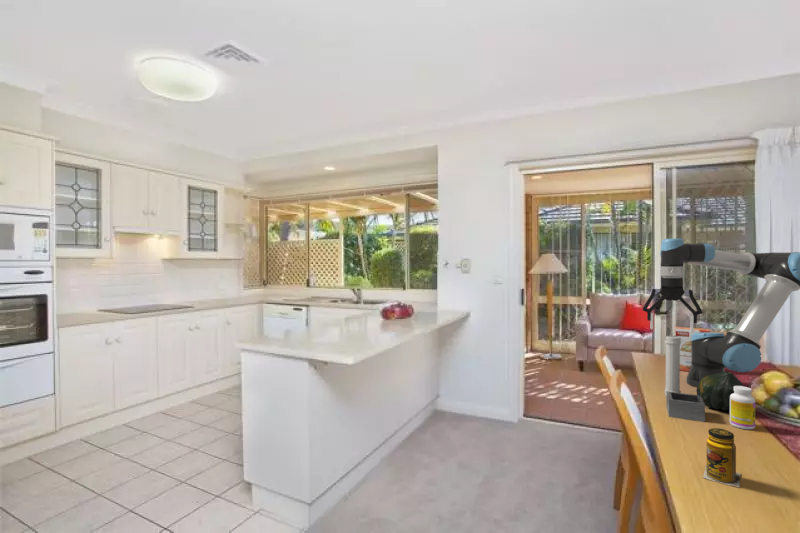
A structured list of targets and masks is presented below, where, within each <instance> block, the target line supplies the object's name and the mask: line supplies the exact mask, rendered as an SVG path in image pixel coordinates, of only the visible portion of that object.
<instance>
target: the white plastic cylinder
mask: <svg viewBox="0 0 800 533" xmlns="http://www.w3.org/2000/svg"><path fill="white" fill-rule="evenodd" d="M663 324H665V325H666V326H668V324H667V323H666V322H663ZM668 327H669V329H670V331H671V334H672V335H665V337H664V343H665V388H664V396H665V397H667V391H668V392H676V393H682V391H681V390H680V388H681V387H680V385H681V384H680V381H681V380H680V379H681V376H680V375H681V374H680V373H681V372H680V371H681V370H680V344H681V338H680V337H678V336H675V335H674V333H673V329H672V328H671V327H670V326H668Z"/></svg>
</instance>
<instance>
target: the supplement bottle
mask: <svg viewBox="0 0 800 533" xmlns="http://www.w3.org/2000/svg"><path fill="white" fill-rule="evenodd" d="M744 386H745V385H744ZM744 386H734V389H733V390H734V393H733V394H731V395H730V412H729V424H730V425H731V426H733V427H734V428H738V429H742V430H749V431H750V430H754V429H755V428H756V399H755V397H754V396H753V395H752V393H753V391H752V388H750V387H747V386H745V387H744Z"/></svg>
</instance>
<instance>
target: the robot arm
mask: <svg viewBox="0 0 800 533" xmlns="http://www.w3.org/2000/svg"><path fill="white" fill-rule="evenodd" d="M659 255H660V276H661V278H660V289H658V288H657V289H655V288H651V294H650V295H649V297H648V298H647V300H646V302H645V303H644V305H643V307H642V311H643V312H644V313H645V312H646V314H647V317H646V318H647V321H649V322H650V326H649V327H650V330H653V329H654V313H653V311H654V310H655V309H656V308H657V307H658V306H659V305H660V304H661V303H662V302H663V301H665V300H666V301H675V302H677V301H680V302H681V303H682V304H683V305H684V306H685V307H686V308H687V310H688V311H689V312H691V313H692V314H690V316H689V317H690V318H689V319H690V320H689V322H690V323H689V324H690V325H689V326H690V327H689V328H690V331H691V332H693V329H694V324H697V323H698V316H699V315H702V314H703V313H704V312H703V309H702V308H701V306H700V304H699V303H698V301H697V300H696V298H695V296H694V292H693V290H692V289H686V290H684V278H683V276H684V264H689V265H696V266H701V267H709V268H715V269H721V270H728V271H735V272H738V273H739V274H741V275H745V276H752V277H755V278H760V279H764V280H765V283H764V285H763V286H762V288H761V289H760V290H759V292H758V293H757V295H756V297H754V299H753V302H751V304H750V306H749V307H748V308H747V310H746V312H745V314H744V315H743V316H742V317H741V320H740V321H739V322H738V324H737V326H736V327H735V328H734V329H733V330H728V331H727V332H726V333H725V334H724V332H711V331H710V332H698V333H693V334H692V339H691V368H690V370H689V371H688V373H687V375H686V384H687V385H690V386H692V387H696V388H697V385H698V384H699V382H700V381H701V380H702V379H703V378H704V377H706V376H708V375H712V374H717V373H721V372H726V371H725V370H726V369H727V370H730V371H732V372H733V371H734V372H738V373H748V372H752V371H754V370H756V369H757V367H758V366H759V365H760V364H761V362H762V357H761V356H762V352H761V348H762V346H761V342H760V340H761V339H762V338H763V336H764V335H765V333H766V332H767V330H768V328H769V327H770V325H772V322H773V321H774V319H775V318H776V317H777V315H778V313H779V312H780V310H781V309H782V307H783V306H784V305H785V303H786V302H787V300H788V298H789V297H790V296H791V294H792V293H793V292H796V291H799V290H800V252H799V251H793V252H747V251H746V252H743V253H738V252H729V251H724V250H717V249H716V248H715V246H714V245H713V244H711V243H704V242H700V243H698V242H697V243H695V242H693V243H685V242H684V239H683V238H663V239H662V240H661V243H660V251H659ZM658 293H660V295H661V297H659V298H658V299H657V301H655V302H654V303H653V304H652V305H651V302H652V301H653V299H654V297H655V295H658ZM684 294H686V296H689V299H690V301H691V302H692V304H693V305H694V307H695V309H696V310H695V309H694V308H693V307H692V306H691V305H690V304H689V303H688V302H687V301H686V300H685V299H684V298H683V297H682V296H684ZM650 305H651V306H650ZM649 306H650V307H649ZM648 307H649V308H648Z"/></svg>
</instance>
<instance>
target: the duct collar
mask: <svg viewBox="0 0 800 533" xmlns="http://www.w3.org/2000/svg"><path fill="white" fill-rule="evenodd" d="M666 411H667V414H668V415H667V416H668V417H669V418H676V419H681V420H682V419H683V420H688V421H696V422H706V406H705V404H704V402H703V400H702V398H701V396H700V395H697V394H693V393H692V394H691V393H684V392H681V393H676V392H668V391H667V396H666Z"/></svg>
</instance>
